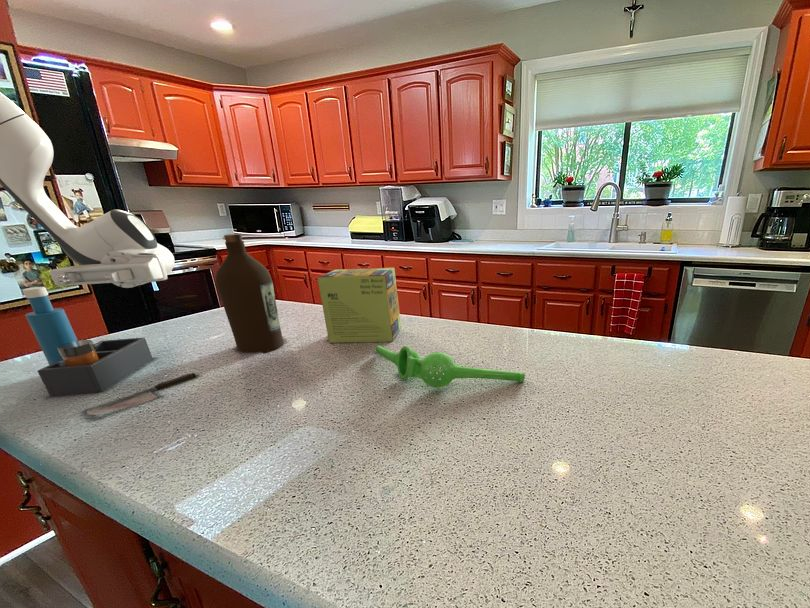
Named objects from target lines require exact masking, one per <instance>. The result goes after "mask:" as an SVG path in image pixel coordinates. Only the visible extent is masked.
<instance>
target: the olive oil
mask: <svg viewBox="0 0 810 608" xmlns="http://www.w3.org/2000/svg"><path fill="white" fill-rule="evenodd" d="M223 238H224V240H225V242H224V244H225V248H226V251H227V255H226V257H225V258H224V260H223V261H222V263H221V264H220V265H219V267H218V268H217V271H216V272H215V287H216V289H217V292H218V295H219V297H220V300H221V303H222V306H223V308H224V311H225V315H226V317H227V321H228V323H229V326H230V329H231V332H232V335H233V339H234V342H235V345H236V348H237V351H238V352H240V353H248V354H249V353H262V354H264V353H268V352H272V351H275V350H277V349H279V348H281V347H283V345H284V339H283V338H284V337H283V333H282V328H281V323H280V317H279V313H278V312H279V311H278V307H277V300H276V294H275V289H274V283H273V279H272V276H271V274H270V272H269V270H268V268H267V267H265V265H263V264H262V263H261V262H259V261H258V260H257V259H255V258H254V257H253V256H251V255H250V254H249V253H248V252H247V250H246V246H245V241H244V240H243V237H242V234H240V233H233V234H232V233H231V234H224V235H223Z"/></svg>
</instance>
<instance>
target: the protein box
mask: <svg viewBox="0 0 810 608" xmlns="http://www.w3.org/2000/svg"><path fill="white" fill-rule="evenodd" d="M317 285H318V290H319V294H320V300H321V306H322V311H323V316H324V323H325V327H326V332H327V339H328V343H330V344H331V343H336V344H337V343H339V344H340V343H382V342H387V343H388V342H390V343H391V342H393V341H394V340H395V339H396V337H397V335H398V334H399V333H400V331H401V329H402V321H401V314H400V305H399V296H398V295H399V294H398V286H397V279H396V269H395V267H380V268H379V267H378V268H374V267H373V268H345V269H333V270H331V271H329V272H327V273H324V274H322V275H319V276H318V277H317Z"/></svg>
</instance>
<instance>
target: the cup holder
mask: <svg viewBox="0 0 810 608" xmlns="http://www.w3.org/2000/svg"><path fill="white" fill-rule="evenodd" d="M93 344H94V346H95V350H96V353H97V355H98V357H99V360H98V361H96V362H94V363H92V364H90V365H82V366H70V367H67V366H66V364H65V362H64V360H63V359H61V360H59V361H57V362H55V363H53V364H51V365H49V364H48V365H46V366H44V367H42V368H40V369H38V370H37V374H38V376H39V377H40V379H41V381H42V383H43V385H44V387H45V389H46V392H47V393H48V395H49V397H50V398H52V397H63V396H73V395H74V396H75V395H84V394H85V395H86V394H95V393H103V392H105V391H106V390H108V389H110V388H111V387H112V386H114V385H115V384H117V383H119V382H121V381H122V380H124V379H125V378H127V377H128V376H130V375H131V374H133V373H134V372H136V371H138V370H139V369H141V368H143V367H145V366H146V365H147V364H149V363H150V362H152V361H153V360H154V358H153V355H152V352H151V350H150V348H149V345H148V342H147V339H146V337H133V338H118V339H106V340H100V341H97V342H96V343H93Z"/></svg>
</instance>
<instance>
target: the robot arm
mask: <svg viewBox="0 0 810 608" xmlns="http://www.w3.org/2000/svg"><path fill="white" fill-rule="evenodd" d="M54 154H55V153H54V146H53V143H52V140H51V139H50V138H49V136H48V135H47V133H46V132H45V131H44V130H43V128H41V127H40V126H39V125H38V124H37V123H36V122H35V121H34V120H33V119H32V118H31V117H29V115H27V114H26V112H25V111H23V110H22V109H21V108H20V107H19V106H18V105H17V104H16V103H14V102H13V100H11V99H9V97H7V96H6V95H5V94H4V93H2V92H1V91H0V185H1V186H2V187H3V189H4V190H5V191H6V192H7V193H8V194H9V195H10V196H11V197H12V199H13V200H15V201H16V203H18V205H19V206H20V207H21V208H22V209H23V210H24V211H26V213H28V215H30V216H31V217H32V218H33V219H34V221H36V222H37V224H38V225H39V226H41V228H43V229H44V230H45V231H46V232H47V234H48V235H50V237H51V238H52V239H53V240H54V241H55V242H56V243H57V244H58V245H59V247H60V248H61V249H62V251H63V252H64V253H65V255H66V256H67V257H68V259H70V260H71V261H72V262H74V263H75V264H77V265H72V266H71V265H70V266H65V267H60V268H59V267H58V268H53V269H51V270H50V271H49V275H50V276H51V279H52V281H53V282H54V285H56V286H58V287H62V286H63V287H65V286H80V285H96V284H97V285H98V284H113V285H115V286H117V287H120V288H125V289H129V288H131V289H132V288H134V287H137V286H142V285H145V284H149V283H154V282H155V283H156V282H161V281H167V280H168V279H169V278H168V275H169V274H170V273H171V272H172V271H173V269H174V267H175V255H174V254H173V253H172V252H171V250H169V248H167V247H165V246H164V245H162V244H160V243H158V242H157V238H156V236H155V234H154V232H153V231H152V229H151V227H149V226H148V224H147V223H146V222H145V221H144V220H143V219H142V218H140V217H138V216H137V215H135V214H134V213H133V214H132V213H131V212H128V211H125V210H121V209H115V208H114V209H111V210H110V211H108V212H106V213H104V214H101V215H100V216H98V217H96V218H94V219H93V220H92V221H91V220H90V221H89V222H88V223H85V224H84V225H82V226H77V225H75V224H74V223H73V222H72V221H71V220H70V219H69V218H68V217H67V215H65V214H64V212H63V211H62V210H61V209H60V208H59V207H58V206H57V205H56V204H55V203H54V202H53V201H52V200H51V198H50V197H49V196H48V195H47V193H46V190H45V188H44V182H45V178H46V175H47V174H48V172H49V170H50V168H51V166H52V164H53V161H54Z"/></svg>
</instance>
